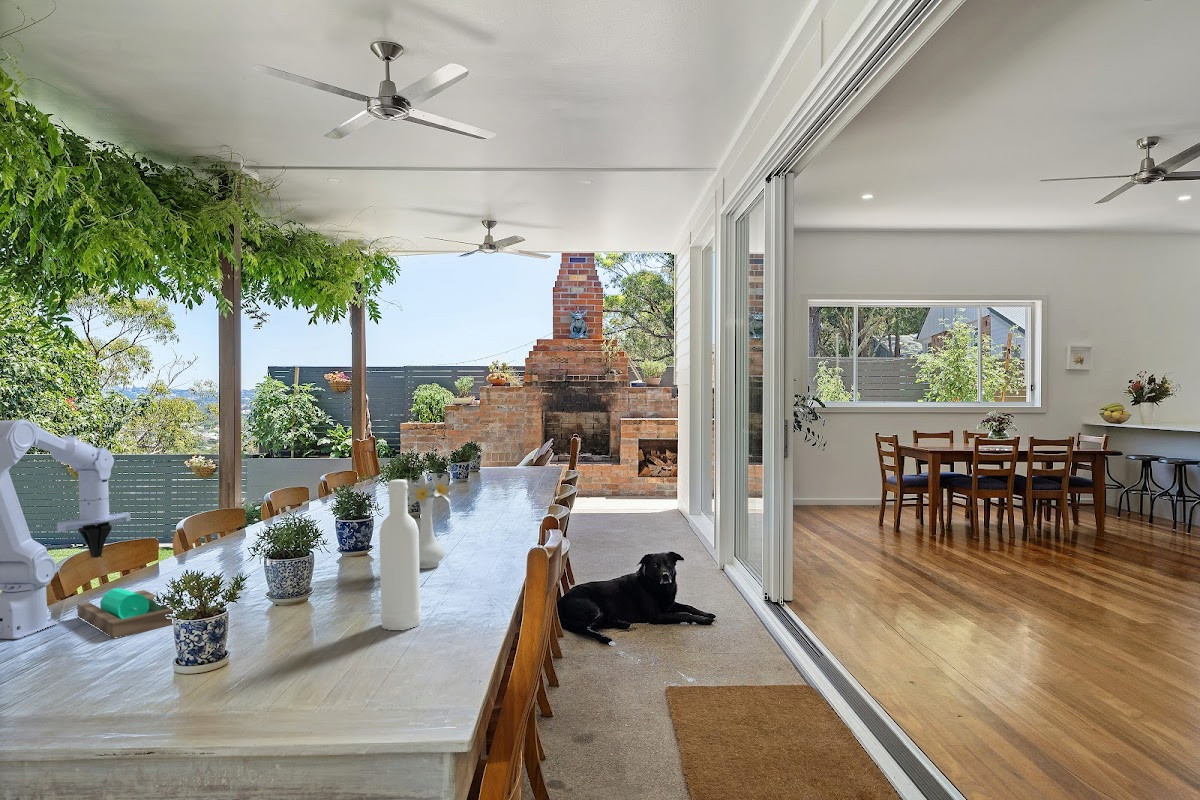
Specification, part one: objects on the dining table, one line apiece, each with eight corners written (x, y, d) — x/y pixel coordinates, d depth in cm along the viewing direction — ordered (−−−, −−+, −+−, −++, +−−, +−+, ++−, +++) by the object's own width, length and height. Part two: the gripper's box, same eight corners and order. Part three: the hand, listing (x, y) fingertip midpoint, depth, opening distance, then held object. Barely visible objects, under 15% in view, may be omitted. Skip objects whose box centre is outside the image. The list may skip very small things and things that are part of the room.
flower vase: (397, 560, 205) (395, 472, 205) (463, 560, 205) (461, 471, 204) (383, 573, 192) (381, 478, 192) (453, 572, 192) (451, 477, 191)
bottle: (410, 632, 146) (406, 483, 146) (374, 630, 148) (370, 482, 147) (427, 619, 154) (424, 477, 153) (393, 617, 156) (389, 477, 155)
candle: (105, 621, 159) (126, 629, 151) (95, 596, 158) (116, 603, 150) (135, 607, 163) (156, 614, 156) (125, 583, 162) (146, 589, 155)
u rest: (77, 617, 159) (77, 604, 159) (144, 602, 169) (143, 590, 169) (113, 639, 145) (113, 624, 145) (183, 621, 155) (183, 607, 155)
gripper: (65, 505, 163) (67, 565, 163) (135, 495, 175) (137, 552, 175) (52, 502, 166) (54, 561, 167) (121, 493, 179) (123, 548, 179)
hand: (96, 556), depth 171 cm, fingers closed
